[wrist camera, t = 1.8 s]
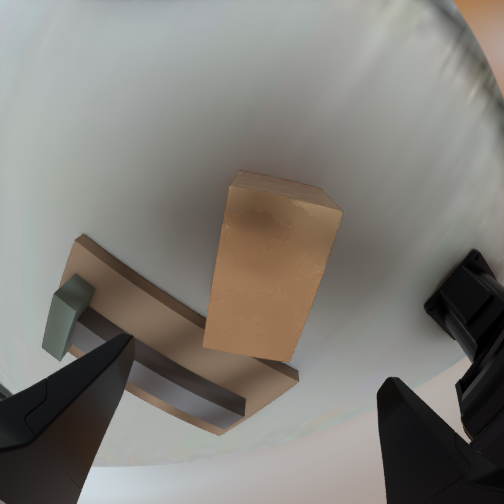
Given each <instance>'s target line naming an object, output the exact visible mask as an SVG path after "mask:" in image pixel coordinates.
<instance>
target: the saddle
mask: <svg viewBox="0 0 504 504" xmlns="http://www.w3.org/2000/svg"><path fill="white" fill-rule="evenodd" d="M342 214H343V211H342V210H341V209H340V208H339V206H338V205H337V204H336V203H335V202H334V201H333V200H332V199H331V198H330V197H329V196H328V195H327V193H326V192H325V191H324V190H323V189H320V188H317V187H313V186H309V185H305V184H300V183H296V182H292V181H288V180H283V179H279V178H275V177H270V176H266V175H261V174H256V173H251V172H247V171H242V170H239V172H238V173H237V175H236V176H235V178H234V179H233V181H232V183H231V184H230V186H229V191H228V196H227V202H226V207H225V212H224V218H223V223H222V229H221V235H220V240H219V246H218V252H217V257H216V263H215V269H214V275H213V281H212V288H211V294H210V300H209V306H208V313H207V319H206V326H205V333H204V340H203V347H205V348H210V349H214V350H219V351H224V352H229V353H235V354H240V355H246V356H251V357H257V358H263V359H269V360H276V361H283V362H290V360H291V357H292V355H293V352H294V350H295V347H296V345H297V343H298V340H299V338H300V335H301V332H302V330H303V327H304V325H305V322H306V320H307V317H308V314H309V312H310V309H311V306H312V304H313V301H314V298H315V295H316V293H317V290H318V287H319V284H320V282H321V279H322V276H323V273H324V270H325V267H326V264H327V261H328V258H329V255H330V252H331V249H332V246H333V243H334V240H335V237H336V234H337V231H338V227H339V224H340V221H341V218H342Z"/></svg>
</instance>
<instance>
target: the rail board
mask: <svg viewBox="0 0 504 504" xmlns="http://www.w3.org/2000/svg"><path fill="white" fill-rule="evenodd" d="M205 326H206V319H205V318H203V317H202V316H200V315H199V314H197V313H195V312H194V311H192V310H191V309H189V308H188V307H186V306H184V305H183V304H181V303H180V302H178V301H177V300H175V299H174V298H172V297H171V296H169V295H168V294H166V293H165V292H163V291H162V290H160V289H159V288H157V287H156V286H154V285H153V284H151V283H150V282H148V281H147V280H145V279H144V278H143V277H141V276H140V275H138V274H137V273H135V272H134V271H133V270H131V269H130V268H128V267H127V266H126V265H124V264H123V263H121V262H120V261H119V260H117V259H116V258H115V257H113V256H112V255H110V254H109V253H108V252H106V251H105V250H104V249H102V248H101V247H100V246H98V245H97V244H96V243H95V242H93V241H92V240H91V239H89V238H88V237H87V236H85V235H84V234H83V235H81V236H80V237H78V238H77V239H76V240H75V241H74V244H73V246H72V249H71V252H70V255H69V258H68V261H67V264H66V267H65V270H64V273H63V276H62V279H61V282H60V286H59V289H58V290H57V291H56V292H55V293H54V295H53V298H52V302H51V306H50V310H49V315H48V319H47V323H46V328H45V333H44V338H43V343H42V348H43V349H44V350H46V351H47V352H48V353H49V354H51V355H52V356H53V357H55V358H56V359H57V360H58V361H61V360H62V358H63V357H64V355H65V354H66V353H67V351H68V352H69V353H71V354H72V355H73V356H75V357H76V358H77V359H78V358H80V357H82V356H83V355H85V354H87V353H88V352H90V351H92V350H93V349H95V348H97V347H98V346H100V345H102V344H103V343H105V342H107V341H108V340H110V339H112V338H113V337H115V336H117V335H118V334H120V333H123V332H125V333H128V334H131V335H133V336H134V338H135V351H136V354H135V359H134V362H133V365H132V368H131V371H130V374H129V377H128V380H127V383H126V386H125V390H127V391H128V392H130V393H132V394H133V395H135V396H137V397H139V398H141V399H142V400H144V401H146V402H148V403H150V404H152V405H153V406H155V407H157V408H159V409H161V410H163V411H165V412H167V413H169V414H171V415H173V416H175V417H177V418H179V419H181V420H183V421H186V422H188V423H190V424H192V425H194V426H197V427H199V428H201V429H204V430H206V431H208V432H211V433H213V434H216V435H218V436H220V435H222V434H224V433H225V432H227V431H228V430H230V429H232V428H233V427H235V426H236V425H238V424H240V423H241V422H243V421H244V420H246V419H247V418H249V417H250V416H252V415H253V414H255V413H256V412H258V411H259V410H261V409H262V408H264V407H265V406H267V405H268V404H269V403H271V402H272V401H274V400H275V399H277V398H278V397H279V396H281V395H282V394H283V393H285V392H286V391H288V390H289V389H290V388H292V387H293V386H294V385H296V384H297V383H298V382H299V376H298V371H296V370H294V369H292V368H291V367H289V366H287V365H285V364H283V363H281V362H279V361H276V360H269V359H263V358H257V357H251V356H246V355H240V354H235V353H229V352H224V351H219V350H214V349H210V348H205V347H203V340H204V333H205Z"/></svg>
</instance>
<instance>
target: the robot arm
mask: <svg viewBox="0 0 504 504" xmlns="http://www.w3.org/2000/svg"><path fill="white" fill-rule="evenodd" d="M475 255H476V257H475ZM431 306H432V307H431ZM430 307H431V308H430ZM424 309H425V311H426V312H427V314H428V315H429V316H431V317H432V318H433V319H434V320H435V321H436V322H437V323H438V324H439V325H440V326H441V327H442V328H443V329H444V331H445V332H446V333H447V334H448V335H449V336H450V337H451V338H452V339H453V340H457V342H458V343H459V345H460V346H461V348H462V349H463V351H464V352H465V354H466V355H467V357H468V358H469V360H470V361H471V362H472V365H471V366H470V368H469V369H468V370H467V372H466V373H465V374H464V376H463V377H462V378H461V379H459V381H458V382H457V383H456V384H455V387H456V391H457V396H458V402H459V406H460V413H461V422H462V424H463V428H464V431H465V433H466V435H467V436H468V437H469V439H470V440H471V442H470V443H469V444H468V443H467V442H466V441H465V440H464V439H463V438H461V437H460V436H459V435H458V434H457V433H456V432H455V431H454V430H453V429H452V428H451V427H450V426H449V425H448V424H447V423H446V422H445V421H444V420H443V419H442V418H440V416H438V415H437V414H436V413H435V412H434V411H433V410H432V409H431V408H430V407H429V406H428V405H427V404H426V403H425V402H424V401H423V400H421V399H420V397H418V396H417V395H416V394H415V393H414V392H413V391H412V390H411V389H410V388H409V387H408V386H407V385H406V384H405V383H404V382H403V381H402V380H400V379H399V378H398V377H388V378H387V379H386V380H385V382H384V383H383V385H382V386H381V387H380V389H379V390H378V392H377V410H378V428H379V436H380V444H381V452H382V459H383V467H384V476H385V487H386V499H387V504H504V287H503V286H502V285H501V284H500V283H498V282H497V280H496V278H495V277H494V275H493V273H492V271H491V270H490V268H489V266H488V264H487V263H486V261H485V259H484V258H483V256H482V254H481V253H480V252H479V251H478V250H476V249H475V250H473V251H472V252H471V253H470V254H469V256H468V257H467V258H466V259H465V260H464V262H463V263H462V264H461V265H460V266H459V268H458V269H457V270H456V271H455V272H454V273H453V275H452V276H451V277H450V278H449V279H448V280H447V281H446V283H445V284H444V285H443V286H442V287H441V288H440V289H439V290H438V291H437V292H436V294H435V295H434V296H433V297H432V298H431V299H430V300H429V301H428V302H427V303H426V304H425V307H424ZM135 354H136V351H135V338H134V336H133V335H131V334H128V333H125V332H123V333H120V334H118V335H117V336H115V337H113V338H112V339H110V340H108V341H107V342H105V343H103V344H102V345H100V346H98V347H97V348H95V349H93V350H92V351H90V352H88V353H87V354H85V355H83V356H82V357H80V358H78V359H77V360H75V361H73V362H72V363H70V364H68V365H67V366H65V367H63V368H62V369H60V370H58V371H56V372H55V373H53V374H51V375H50V376H48V377H47V378H45V379H43V380H41V381H40V382H38V383H36V384H34V385H32V386H31V387H29V388H27V389H25V390H23V391H21V392H19V393H17V394H15V395H12V396H10V397H8V398H5V399H3V400H1V401H0V504H77V501H78V499H79V496H80V493H81V491H82V490H81V489H82V488H83V485H84V483H85V480H86V478H87V475H88V473H89V470H90V468H91V465H92V463H93V461H94V458H95V456H96V454H97V451H98V449H99V446H100V444H101V442H102V440H103V437H104V435H105V433H106V430H107V428H108V426H109V424H110V421H111V419H112V417H113V415H114V413H115V410H116V408H117V406H118V404H119V402H120V400H121V397H122V395H123V392H124V389H125V386H126V383H127V380H128V377H129V374H130V371H131V368H132V365H133V362H134V359H135Z"/></svg>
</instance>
